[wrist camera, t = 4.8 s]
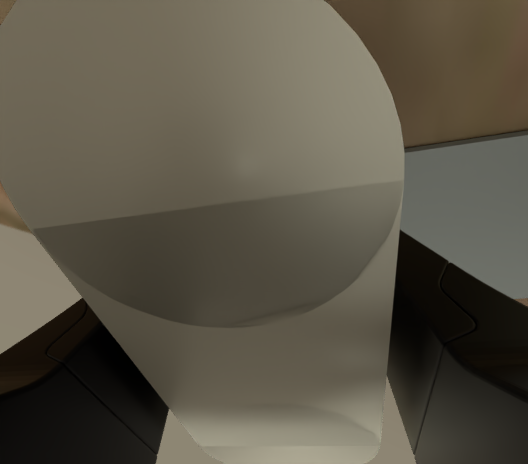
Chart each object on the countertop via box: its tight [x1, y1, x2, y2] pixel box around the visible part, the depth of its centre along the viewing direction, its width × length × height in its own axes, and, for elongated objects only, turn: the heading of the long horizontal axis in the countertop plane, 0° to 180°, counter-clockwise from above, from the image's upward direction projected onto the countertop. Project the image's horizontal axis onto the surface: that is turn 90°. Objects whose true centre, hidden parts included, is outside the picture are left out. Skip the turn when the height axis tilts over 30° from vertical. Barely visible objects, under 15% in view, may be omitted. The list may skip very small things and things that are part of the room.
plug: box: [0, 0, 405, 464], centre depth 9 cm, size 4×14×6 cm, turn 11°
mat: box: [400, 130, 528, 299], centre depth 22 cm, size 14×14×1 cm
